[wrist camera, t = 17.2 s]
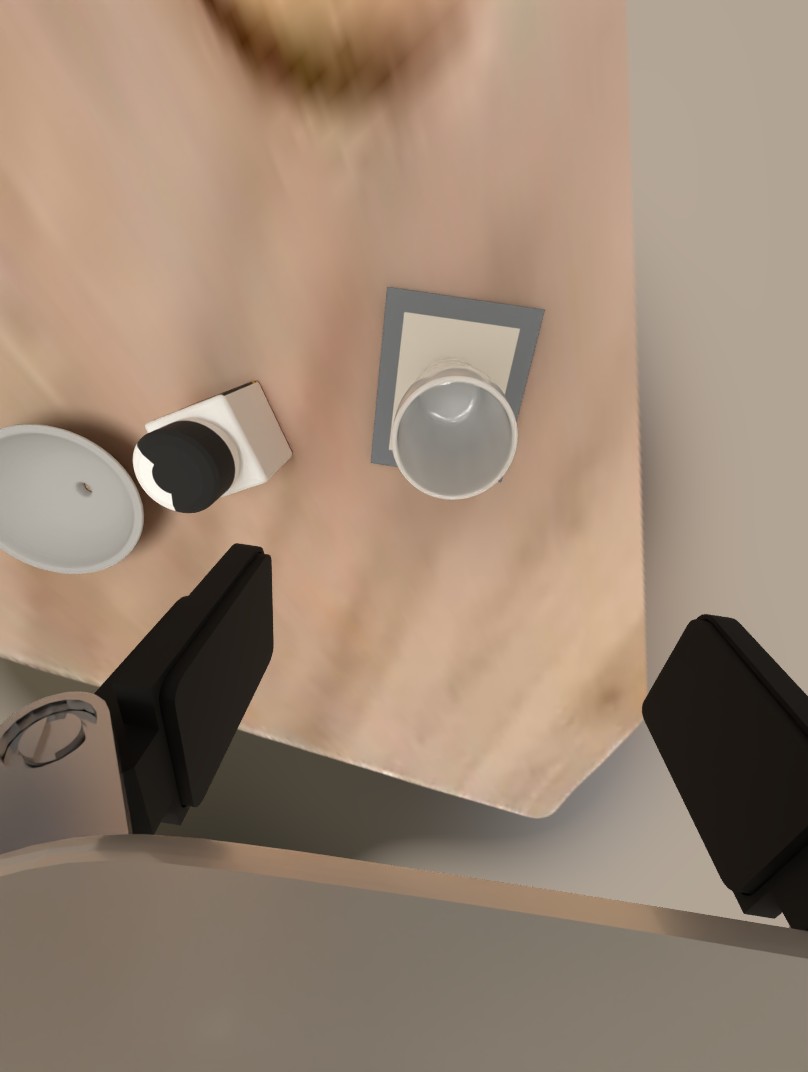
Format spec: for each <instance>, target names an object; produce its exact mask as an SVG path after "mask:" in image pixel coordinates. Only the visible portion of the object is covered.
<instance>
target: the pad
mask: <svg viewBox="0 0 808 1072" xmlns="http://www.w3.org/2000/svg"><path fill="white" fill-rule="evenodd" d="M544 311H545V310H543V309H536V308H529V307H522V306H515V305H508V304H502V303H495V302H488V301H481V300H474V299H467V298H460V297H453V296H446V295H440V294H433V293H426V292H419V291H412V290H405V289H398V288H391V287H387V295H386V306H385V317H384V327H383V338H382V348H381V359H380V370H379V380H378V391H377V402H376V412H375V423H374V433H373V444H372V455H371V463H374V464H381V465H388V466H395V467H398V466H397V464H396V461H395V458H394V455H393V451H392V440H391V438H392V429H393V424H394V419H395V415H396V412H397V409H398V406H399V404H400V401H401V399H402V397H403V396H404V394H405V392H406V391H407V389H408V388H409V387H410V385H411V384H412V383H413V382H414V381H415V380H416V379H417V378H418V377H419V376H420V375H421V374H422V373H423V372H424V371H425V369H426V368H427V367H428V366H430V365H431V364H432V363H434V362H436V361H438V360H440V359H444V358H458V359H461V360H464V361H466V362H468V363H469V364H470V365H472V366H473V367H474V368H477V369H478V370H480V371H482V372H484V373H485V374H486V375H488V376H489V377H490V378H491V379H492V380H493V381H494V382H495V383H496V384H497V385H498V386H499V387H500V389H501V390H502V391H503V393H504V395H505V396H506V398H507V400H508V402H509V404H510V406H511V408H512V411H513V413H514V416H515V419H516V422H517V418H518V414H519V410H520V406H521V402H522V398H523V394H524V390H525V386H526V382H527V378H528V374H529V370H530V366H531V363H532V359H533V355H534V351H535V347H536V343H537V339H538V335H539V331H540V327H541V323H542V319H543V315H544ZM501 481H502V478H501V479H500V480H499V481H498V482H501Z"/></svg>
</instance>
